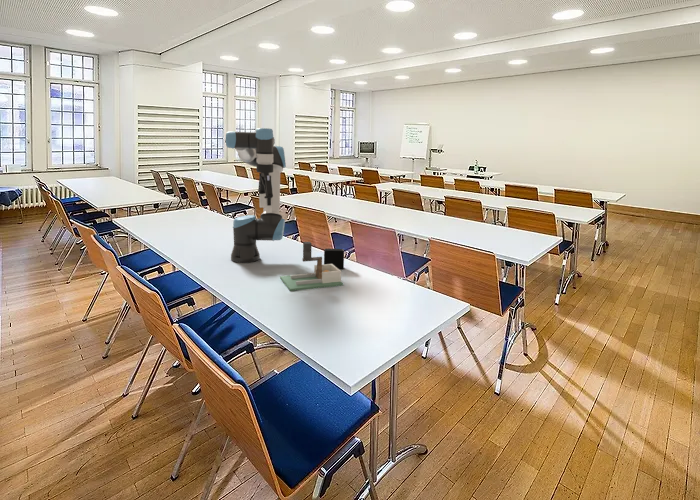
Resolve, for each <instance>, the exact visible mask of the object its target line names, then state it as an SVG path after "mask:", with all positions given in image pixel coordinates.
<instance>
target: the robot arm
mask: <svg viewBox="0 0 700 500" xmlns="http://www.w3.org/2000/svg"><path fill="white" fill-rule="evenodd" d="M275 139H276V138H275V137H274V131H273V128H269V127H268V128H264V127H258V128H256V129H255V131H254V132H253V131H250V132H249V131H234V130H233V131H227V132H226V133H225V147H227V148H228V149H232V150H233V149H234V150H236V152H237V156H238V158H239V159H240V161H242V162H243V163H244V164H246V165H249V166H252V167H256V173H258V175H259V176H258V189H257V190H258V193H259V197H258V199H259V208H260V209H261V208H262V209H263V212H262V213H261V214H260V217H259V218H257V216H256V215H252V214H250V215H249V214H248V215H241V216H238V217H235V218H234V219H233V220H232V221H233V223H232V224H233V226H232V228H233V231H232V233H233V247H232V251H231V254H230V260H231V261H232V262H234V263H244V264H245V263H247V264H248V263H254V262H257V261H260V259H261V258H260V257H261V256H260V255H261V254H260V251H259V248H258V246H257V241H270V242H271V241H273V242H274V241H281V240H283V237H284V234H285V233H284V232H285V225H286V221H285V220H286V219H284V218H283V215H282V214H281V213H280V208H281V207H280V205H281V203H280V200H281V199H280V198H281V173H283V171H284V168H287V166H286V164H287V163H286V156H285V148H284V147H283V146H280V145H279V146H277V145H275V141H276V140H275Z"/></svg>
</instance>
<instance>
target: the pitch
mask: <svg viewBox="0 0 700 500" xmlns="http://www.w3.org/2000/svg"><path fill="white" fill-rule="evenodd" d="M316 270H317V264H314V267H313V271H314V272H311V273H300V274H290V275H281V276H279V279H280V280H281V281H282V283H283V284H284V286H285V287H287V289H288V290H289V292H294V291H302V290H312V289H321V288H322V289H323V288H331V287H332V288H333V287H341V286H344V283H343V281H342V270H339V269H338V268H337V267H335V266H334V265H333V264H324V263H322V279H318V278H317V277H316ZM325 270H328V271H329V272H323V271H325Z"/></svg>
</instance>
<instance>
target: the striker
mask: <svg viewBox="0 0 700 500" xmlns="http://www.w3.org/2000/svg"><path fill="white" fill-rule="evenodd" d="M302 246H303V247H302V256H303V257H302V259H301V260H302V262H315V261H316V265H317V270H316V277H317V278H318V279H322V265H323V257H322V256H312V242H311V241H303V243H302Z"/></svg>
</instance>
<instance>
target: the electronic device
mask: <svg viewBox="0 0 700 500" xmlns="http://www.w3.org/2000/svg"><path fill="white" fill-rule="evenodd" d="M323 253H324V254H323V256H324V257H323V264H333V265H334V266H335V267H337V268H338V269H339V270H340V271H342V270H344V269H345V267H344V266H345V265H344V264H345V250H344V249H343V248H324V249H323Z"/></svg>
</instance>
